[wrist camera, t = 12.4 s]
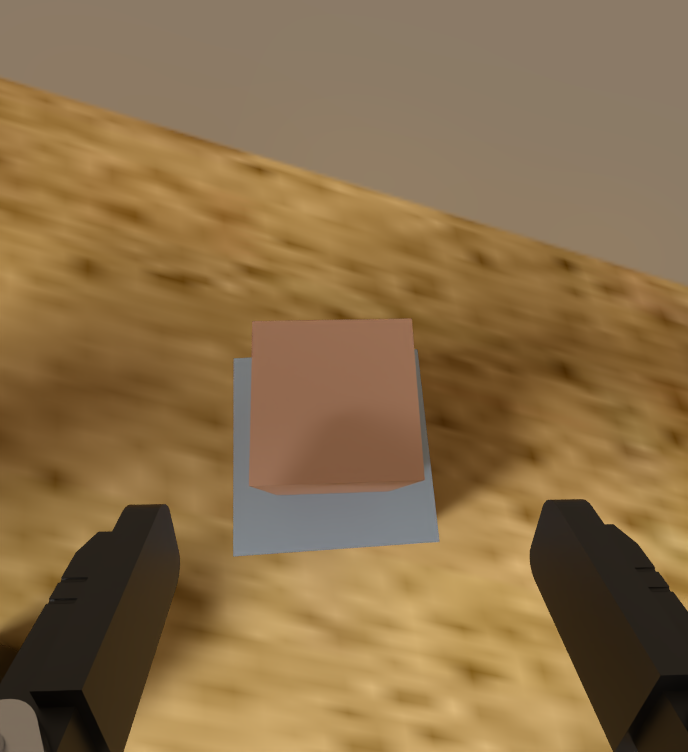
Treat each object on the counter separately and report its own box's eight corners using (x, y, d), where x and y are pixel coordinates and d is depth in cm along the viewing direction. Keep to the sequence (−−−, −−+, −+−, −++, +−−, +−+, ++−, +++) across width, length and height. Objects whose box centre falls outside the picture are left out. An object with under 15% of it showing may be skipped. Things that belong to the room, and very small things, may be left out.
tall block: (277, 495, 21) (248, 485, 13) (277, 387, 22) (252, 321, 14) (388, 491, 21) (425, 480, 13) (381, 384, 22) (411, 318, 15)
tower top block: (248, 549, 24) (233, 556, 20) (247, 380, 26) (233, 358, 22) (421, 537, 24) (439, 541, 20) (404, 372, 27) (417, 349, 23)
